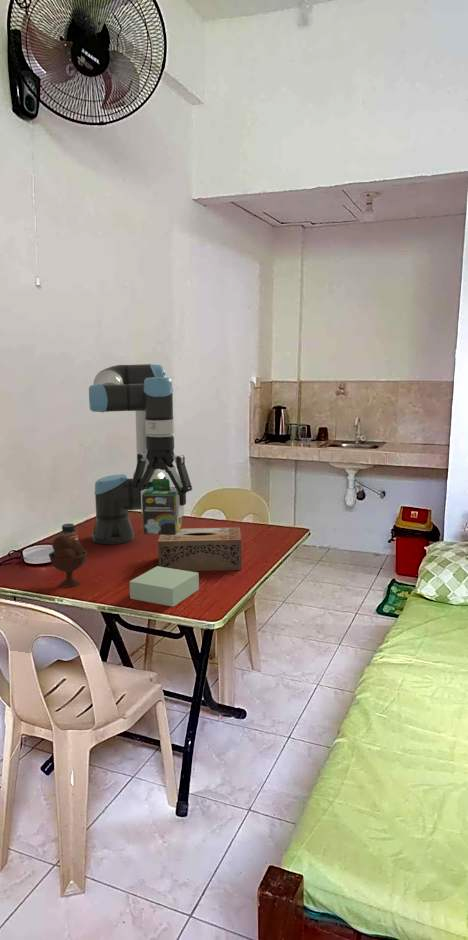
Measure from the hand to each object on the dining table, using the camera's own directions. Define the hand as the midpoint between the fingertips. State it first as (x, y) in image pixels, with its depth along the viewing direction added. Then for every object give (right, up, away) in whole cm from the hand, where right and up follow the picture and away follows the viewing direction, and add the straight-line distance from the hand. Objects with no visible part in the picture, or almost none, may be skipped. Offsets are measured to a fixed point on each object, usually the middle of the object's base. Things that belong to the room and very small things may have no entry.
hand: (162, 514), depth 174 cm
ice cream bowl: (-29, -22, +13) cm, 38 cm away
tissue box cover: (+9, -18, +30) cm, 37 cm away
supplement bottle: (-35, -17, +38) cm, 55 cm away
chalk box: (0, -5, +1) cm, 5 cm away
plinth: (0, -23, +4) cm, 23 cm away
